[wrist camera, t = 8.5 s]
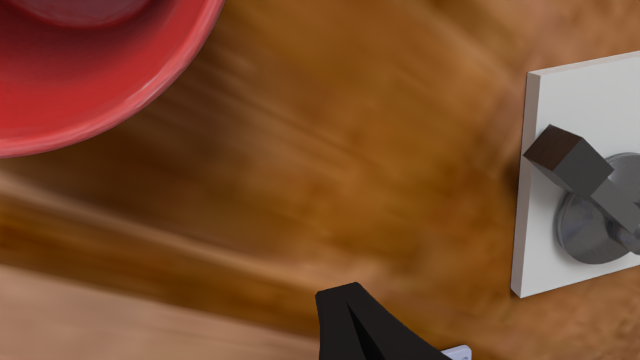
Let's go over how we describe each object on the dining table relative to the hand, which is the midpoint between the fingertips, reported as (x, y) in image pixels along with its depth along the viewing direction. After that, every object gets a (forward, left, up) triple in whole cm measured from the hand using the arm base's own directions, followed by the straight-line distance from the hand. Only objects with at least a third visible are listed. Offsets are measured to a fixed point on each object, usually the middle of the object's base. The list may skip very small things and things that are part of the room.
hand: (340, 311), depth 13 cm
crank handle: (-4, -17, -8) cm, 19 cm away
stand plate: (-4, -20, -9) cm, 22 cm away
